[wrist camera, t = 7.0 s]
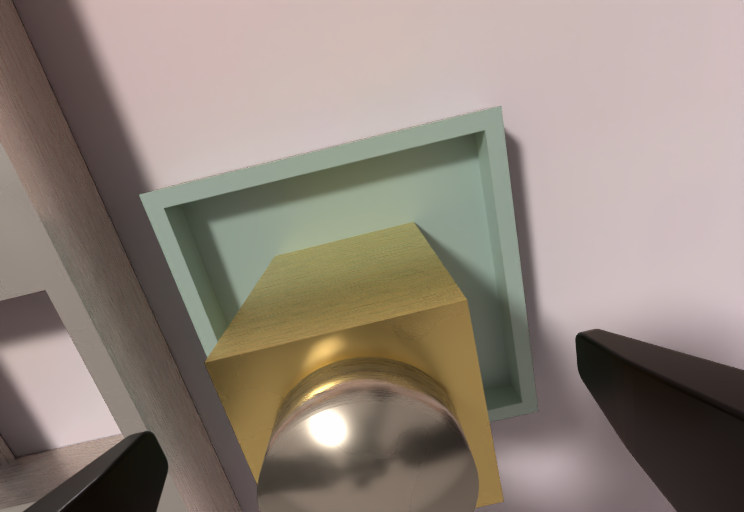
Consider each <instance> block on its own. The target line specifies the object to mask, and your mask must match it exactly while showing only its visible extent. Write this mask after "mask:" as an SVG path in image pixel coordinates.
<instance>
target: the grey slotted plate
mask: <svg viewBox="0 0 744 512" xmlns="http://www.w3.org/2000/svg"><path fill="white" fill-rule="evenodd" d="M43 290H46V292H47V294H48V296H49V298H50V300H51V301H52V303H53V305H54V307H55V309H56V311H57V313H58V315H59V316H60V318H61V320H62V322H63V324H64V326H65V328H66V329H67V331H68V333H69V335H70V337H71V339H72V341H73V343H74V344H75V346H76V348H77V350H78V352H79V354H80V356H81V358H82V359H83V361H84V363H85V365H86V367H87V369H88V371H89V373H90V374H91V376H92V378H93V380H94V382H95V384H96V386H97V388H98V389H99V391H100V393H101V395H102V397H103V399H104V401H105V403H106V404H107V406H108V408H109V410H110V412H111V414H112V416H113V418H114V419H115V421H116V423H117V425H118V427H119V429H120V431H121V433H122V434H120V435H116V436H111V437H107V438H103V439H98V440H94V441H89V442H85V443H81V444H76V445H72V446H67V447H63V448H59V449H54V450H50V451H45V452H41V453H37V454H32V455H28V456H23V457H19V458H15V457H14V456H13V454H12V453H11V451H10V449H9V448H8V446H7V445H6V443H5V442H4V440H3V439H2V437H1V436H0V512H23V511H24V510H26V509H27V508H28V507H30V506H31V505H33V504H34V503H35V502H37V501H38V500H39V499H41V498H42V497H44V496H45V495H46V494H48V493H49V492H51V491H52V490H53V489H55V488H56V487H58V486H59V485H60V484H62V483H63V482H65V481H66V480H67V479H69V478H70V477H71V476H73V475H74V474H76V473H77V472H78V471H80V470H81V469H83V468H84V467H85V466H87V465H88V464H90V463H91V462H92V461H94V460H95V459H96V458H98V457H99V456H101V455H102V454H103V453H105V452H106V451H108V450H109V449H110V448H112V447H113V446H115V445H116V444H117V443H119V442H120V441H122V440H123V439H124V438H126V437H127V436H129V435H131V434H135V433H140V432H144V431H151V432H152V433H154V434H155V436H156V438H157V440H158V442H159V444H160V446H161V448H162V450H163V452H164V454H165V456H166V458H167V460H168V474H167V477H166V481H165V484H164V488H163V491H162V495H161V498H160V501H159V505H158V508H157V512H242V510H241V508H240V506H239V504H238V502H237V499H236V497H235V495H234V493H233V490H232V488H231V486H230V484H229V482H228V479H227V477H226V475H225V473H224V471H223V468H222V466H221V464H220V462H219V459H218V457H217V455H216V453H215V451H214V448H213V446H212V444H211V442H210V439H209V437H208V435H207V433H206V431H205V428H204V426H203V424H202V422H201V419H200V417H199V415H198V413H197V411H196V408H195V406H194V404H193V402H192V399H191V397H190V395H189V393H188V391H187V388H186V386H185V384H184V382H183V380H182V377H181V375H180V373H179V371H178V368H177V366H176V364H175V362H174V360H173V357H172V355H171V353H170V351H169V348H168V346H167V344H166V342H165V340H164V337H163V335H162V333H161V331H160V328H159V326H158V324H157V322H156V320H155V317H154V315H153V313H152V311H151V308H150V306H149V304H148V302H147V300H146V297H145V295H144V293H143V291H142V288H141V286H140V284H139V282H138V280H137V277H136V275H135V273H134V271H133V269H132V266H131V264H130V262H129V260H128V257H127V255H126V253H125V251H124V249H123V246H122V244H121V242H120V240H119V237H118V235H117V233H116V231H115V229H114V226H113V224H112V222H111V220H110V217H109V215H108V213H107V211H106V209H105V206H104V204H103V202H102V200H101V197H100V195H99V193H98V191H97V189H96V186H95V184H94V182H93V180H92V178H91V175H90V173H89V171H88V169H87V166H86V164H85V162H84V160H83V158H82V155H81V153H80V151H79V149H78V146H77V144H76V142H75V140H74V138H73V135H72V133H71V131H70V129H69V126H68V124H67V122H66V120H65V118H64V115H63V113H62V111H61V109H60V106H59V104H58V102H57V100H56V98H55V95H54V93H53V91H52V89H51V86H50V84H49V82H48V80H47V78H46V75H45V73H44V71H43V69H42V67H41V64H40V62H39V60H38V58H37V55H36V53H35V51H34V49H33V47H32V44H31V42H30V40H29V38H28V35H27V33H26V31H25V29H24V27H23V24H22V22H21V20H20V18H19V15H18V13H17V11H16V9H15V7H14V4H13V2H12V0H0V301H1V300H6V299H10V298H14V297H18V296H22V295H27V294H31V293H35V292H39V291H43Z"/></svg>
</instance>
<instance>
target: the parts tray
mask: <svg viewBox="0 0 744 512" xmlns="http://www.w3.org/2000/svg"><path fill="white" fill-rule="evenodd" d="M139 196H140V199H141V201H142V203H143V206H144V208H145V211H146V213H147V215H148V218H149V220H150V222H151V225H152V227H153V230H154V232H155V234H156V237H157V239H158V242H159V244H160V246H161V249H162V251H163V254H164V256H165V258H166V261H167V263H168V265H169V268H170V270H171V273H172V275H173V277H174V280H175V282H176V285H177V287H178V289H179V292H180V294H181V296H182V299H183V301H184V304H185V306H186V308H187V311H188V313H189V316H190V318H191V320H192V323H193V325H194V328H195V330H196V332H197V335H198V337H199V339H200V342H201V344H202V347H203V349H204V351H205V354H206V356H207V358H208V356H209V355H210V353H211V352H212V350H213V349H214V347H215V346H216V344H217V343H218V341H219V340H220V338H221V337H222V335H223V334H224V332H225V331H226V329H227V328H228V326H229V325H230V323H231V322H232V320H233V318H234V317H235V315H236V314H237V312H238V311H239V309H240V308H241V306H242V305H243V303H244V302H245V300H246V299H247V297H248V296H249V294H250V293H251V291H252V290H253V288H254V287H255V285H256V284H257V282H258V281H259V279H260V278H261V276H262V275H263V273H264V272H265V270H266V269H267V267H268V266H269V264H270V262H271V261H272V259H273V258H274V256H277V255H281V254H285V253H289V252H293V251H297V250H301V249H305V248H309V247H313V246H318V245H322V244H326V243H330V242H334V241H338V240H342V239H346V238H350V237H354V236H358V235H362V234H366V233H370V232H374V231H378V230H382V229H386V228H391V227H395V226H399V225H403V224H407V223H411V222H414V223H415V224H416V226H417V227H418V229H419V230H420V232H421V233H422V235H423V236H424V237H425V239H426V240H427V242H428V243H429V245H430V246H431V248H432V249H433V251H434V252H435V254H436V255H437V256H438V258H439V259H440V261H441V262H442V264H443V265H444V267H445V268H446V270H447V271H448V272H449V274H450V275H451V277H452V278H453V280H454V281H455V283H456V284H457V286H458V287H459V289H460V290H461V291H462V293H463V294H464V296H465V297H466V299H467V301H468V306H469V312H470V317H471V323H472V329H473V334H474V340H475V345H476V351H477V356H478V362H479V367H480V373H481V378H482V384H483V389H484V395H485V400H486V406H487V411H488V417H489V422H493V421H498V420H502V419H507V418H511V417H516V416H520V415H525V414H529V413H534V412H538V404H537V396H536V388H535V379H534V371H533V363H532V355H531V347H530V338H529V330H528V322H527V314H526V305H525V297H524V289H523V281H522V273H521V264H520V256H519V248H518V240H517V232H516V223H515V215H514V207H513V199H512V191H511V182H510V174H509V166H508V158H507V150H506V141H505V133H504V125H503V117H502V108H501V106H499V107H494V108H489V109H484V110H480V111H476V112H471V113H467V114H463V115H459V116H455V117H451V118H447V119H443V120H439V121H435V122H431V123H427V124H422V125H418V126H414V127H410V128H406V129H402V130H398V131H394V132H390V133H386V134H382V135H378V136H373V137H369V138H365V139H361V140H357V141H353V142H349V143H345V144H341V145H337V146H333V147H329V148H324V149H320V150H316V151H312V152H308V153H304V154H300V155H296V156H292V157H288V158H284V159H280V160H275V161H271V162H267V163H263V164H259V165H255V166H251V167H247V168H243V169H239V170H235V171H231V172H226V173H222V174H218V175H214V176H210V177H206V178H202V179H198V180H194V181H190V182H186V183H181V184H177V185H173V186H169V187H165V188H161V189H158V190H154V191H151V192H147V193H143V194H140V195H139Z"/></svg>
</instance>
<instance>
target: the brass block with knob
mask: <svg viewBox="0 0 744 512" xmlns="http://www.w3.org/2000/svg"><path fill="white" fill-rule="evenodd" d="M204 364H205V366H206V368H207V370H208V373H209V375H210V377H211V380H212V382H213V384H214V387H215V389H216V391H217V393H218V396H219V398H220V400H221V403H222V405H223V407H224V410H225V412H226V414H227V417H228V419H229V421H230V423H231V426H232V428H233V430H234V433H235V435H236V437H237V440H238V442H239V444H240V446H241V449H242V451H243V453H244V456H245V458H246V460H247V463H248V465H249V467H250V469H251V472H252V474H253V476H254V479H255V481H256V483H257V502H258V508H259V512H474V509H475V508H477V507H482V506H486V505H491V504H495V503H500V502H504V499H503V494H502V488H501V483H500V477H499V472H498V466H497V461H496V455H495V450H494V444H493V439H492V433H491V428H490V422H489V417H488V411H487V406H486V400H485V395H484V389H483V384H482V378H481V373H480V367H479V362H478V356H477V351H476V345H475V340H474V334H473V329H472V323H471V317H470V312H469V306H468V301H467V299H466V297H465V296H464V294H463V293H462V291H461V290H460V289H459V287H458V286H457V284H456V283H455V281H454V280H453V278H452V277H451V275H450V274H449V272H448V271H447V270H446V268H445V267H444V265H443V264H442V262H441V261H440V259H439V258H438V256H437V255H436V254H435V252H434V251H433V249H432V248H431V246H430V245H429V243H428V242H427V240H426V239H425V237H424V236H423V235H422V233H421V232H420V230H419V229H418V227H417V226H416V224H415V223H414V222H411V223H407V224H403V225H399V226H395V227H391V228H386V229H382V230H378V231H374V232H370V233H366V234H362V235H358V236H354V237H350V238H346V239H342V240H338V241H334V242H330V243H326V244H322V245H318V246H313V247H309V248H305V249H301V250H297V251H293V252H289V253H285V254H281V255H277V256H274V258H273V259H272V261H271V262H270V264H269V266H268V267H267V269H266V270H265V272H264V273H263V275H262V276H261V278H260V279H259V281H258V282H257V284H256V285H255V287H254V288H253V290H252V291H251V293H250V294H249V296H248V297H247V299H246V300H245V302H244V303H243V305H242V306H241V308H240V309H239V311H238V312H237V314H236V315H235V317H234V318H233V320H232V322H231V323H230V325H229V326H228V328H227V329H226V331H225V332H224V334H223V335H222V337H221V338H220V340H219V341H218V343H217V344H216V346H215V347H214V349H213V350H212V352H211V353H210V355H209V356H208V358H207V359H206V361H205V362H204Z"/></svg>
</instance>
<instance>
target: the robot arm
mask: <svg viewBox="0 0 744 512" xmlns="http://www.w3.org/2000/svg"><path fill="white" fill-rule="evenodd" d="M575 342H576V354H577V366H578V371H579V374H580V377H581V379H582V380H583V382H584V384H585V385H586V387H587V388H588V390H589V391H590V393H591V394H592V396H593V397H594V399H595V401H596V402H597V404H598V405H599V407H600V408H601V410H602V411H603V413H604V415H605V416H606V418H607V419H608V421H609V422H610V424H611V425H612V427H613V428H614V430H615V432H616V433H617V435H618V436H619V438H620V439H621V441H622V442H623V443H624V445H625V446H626V448H627V449H628V450H629V452H630V453H631V454H632V456H633V457H634V458H635V460H636V461H637V462H638V463H639V465H640V466H641V467H642V468H643V470H644V471H645V472H646V473H647V475H648V476H649V477H650V478H651V480H652V481H653V482H654V483H655V485H656V486H657V487H658V488H659V490H660V491H661V492H662V493H663V495H664V496H665V497H666V498H667V500H668V501H669V502H670V503H671V505H672V506H673V507H674V508H675V510H676V511H677V512H744V370H741V369H738V368H734V367H731V366H727V365H724V364H720V363H716V362H713V361H709V360H706V359H702V358H699V357H695V356H692V355H688V354H685V353H681V352H678V351H674V350H671V349H667V348H664V347H660V346H657V345H653V344H650V343H646V342H642V341H639V340H635V339H632V338H628V337H625V336H621V335H618V334H614V333H611V332H607V331H604V330H600V329H593V330H588V331H584V332H580V333H578V334H577V335H576V339H575ZM167 474H168V460H167V458H166V456H165V454H164V452H163V450H162V448H161V446H160V444H159V442H158V440H157V438H156V436H155V434H154V433H152V432H151V431H144V432H140V433H135V434H131V435H129V436H127V437H126V438H124V439H123V440H122V441H120V442H119V443H117V444H116V445H115V446H113V447H112V448H110V449H109V450H108V451H106V452H105V453H103V454H102V455H101V456H99V457H98V458H96V459H95V460H94V461H92V462H91V463H90V464H88V465H87V466H85V467H84V468H83V469H81V470H80V471H78V472H77V473H76V474H74V475H73V476H71V477H70V478H69V479H67V480H66V481H65V482H63V483H62V484H60V485H59V486H58V487H56V488H55V489H53V490H52V491H51V492H49V493H48V494H46V495H45V496H44V497H42V498H41V499H39V500H38V501H37V502H35V503H34V504H33V505H31V506H30V507H28V508H27V509H26V510H24V511H23V512H157V508H158V505H159V501H160V498H161V495H162V491H163V488H164V484H165V481H166V477H167Z"/></svg>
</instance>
